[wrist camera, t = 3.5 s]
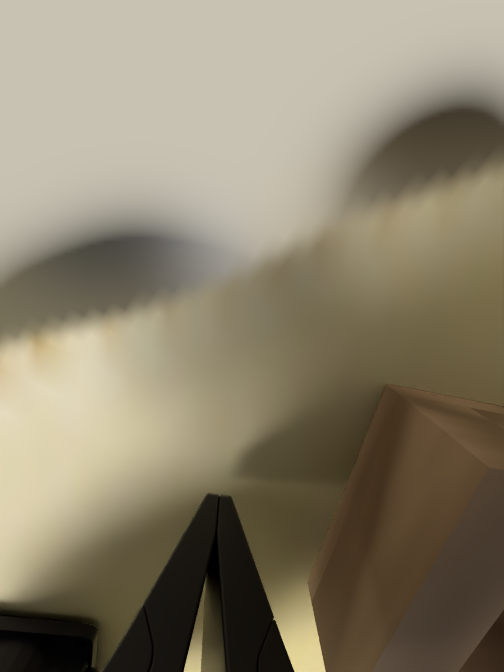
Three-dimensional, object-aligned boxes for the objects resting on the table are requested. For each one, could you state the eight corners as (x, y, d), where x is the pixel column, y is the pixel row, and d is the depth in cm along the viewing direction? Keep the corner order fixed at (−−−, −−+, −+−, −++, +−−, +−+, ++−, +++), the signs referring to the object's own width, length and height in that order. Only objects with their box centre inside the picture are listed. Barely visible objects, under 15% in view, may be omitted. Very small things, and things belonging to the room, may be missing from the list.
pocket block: (305, 573, 11) (337, 730, 8) (381, 380, 9) (489, 467, 5) (497, 595, 12) (612, 745, 8) (616, 426, 10) (861, 530, 6)
